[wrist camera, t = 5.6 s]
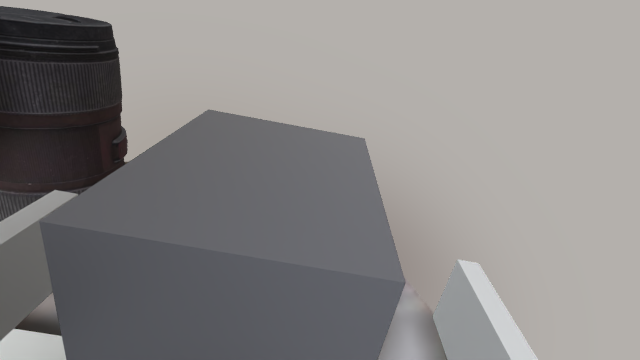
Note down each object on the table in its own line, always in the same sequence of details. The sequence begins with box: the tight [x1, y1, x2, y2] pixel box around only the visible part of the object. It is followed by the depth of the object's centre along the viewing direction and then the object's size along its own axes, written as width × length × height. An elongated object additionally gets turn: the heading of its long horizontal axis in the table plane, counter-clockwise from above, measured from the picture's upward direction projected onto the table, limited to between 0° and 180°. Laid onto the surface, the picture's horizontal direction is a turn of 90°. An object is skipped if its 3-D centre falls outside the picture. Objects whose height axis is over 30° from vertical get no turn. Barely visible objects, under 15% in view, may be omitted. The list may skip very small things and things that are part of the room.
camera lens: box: [0, 6, 127, 222], centre depth 22 cm, size 8×8×15 cm
